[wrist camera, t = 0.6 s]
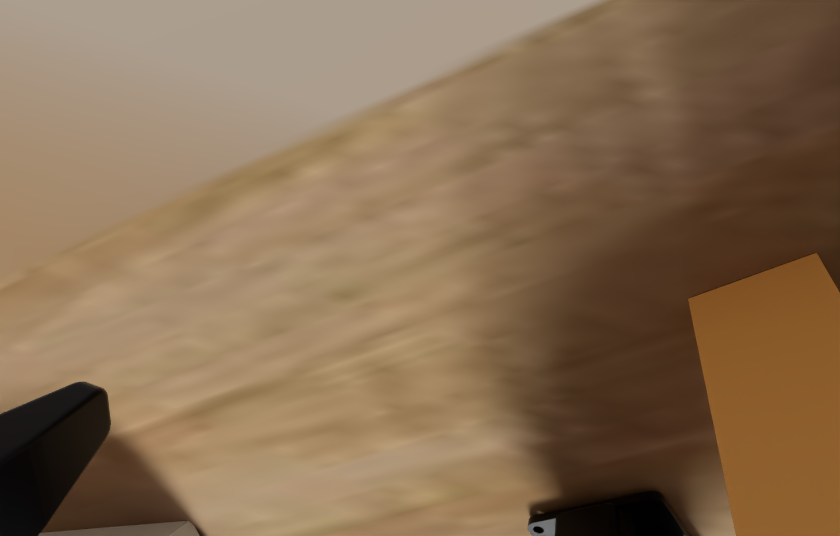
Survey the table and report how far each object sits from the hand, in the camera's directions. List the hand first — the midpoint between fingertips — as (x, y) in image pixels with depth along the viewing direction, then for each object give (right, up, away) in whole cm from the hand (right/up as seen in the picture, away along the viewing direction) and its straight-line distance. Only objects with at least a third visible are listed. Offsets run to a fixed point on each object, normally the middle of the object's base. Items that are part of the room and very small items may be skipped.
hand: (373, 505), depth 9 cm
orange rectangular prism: (+12, +2, +11) cm, 17 cm away
